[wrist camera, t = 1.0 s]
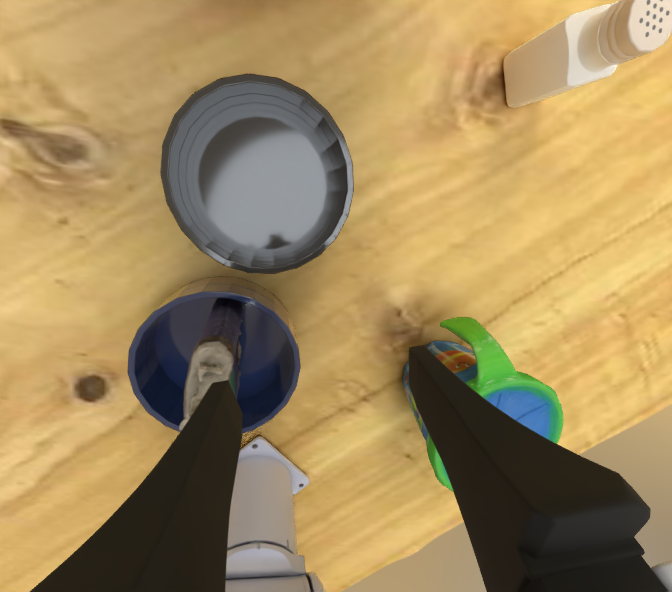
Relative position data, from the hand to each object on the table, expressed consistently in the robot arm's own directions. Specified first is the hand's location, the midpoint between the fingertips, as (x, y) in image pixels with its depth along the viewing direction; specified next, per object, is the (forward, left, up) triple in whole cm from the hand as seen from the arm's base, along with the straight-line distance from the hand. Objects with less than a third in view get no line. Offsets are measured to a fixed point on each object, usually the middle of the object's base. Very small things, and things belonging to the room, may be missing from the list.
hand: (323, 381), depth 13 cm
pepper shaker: (+25, +2, -16) cm, 30 cm away
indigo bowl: (-8, 0, -16) cm, 17 cm away
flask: (-8, 0, -15) cm, 17 cm away
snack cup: (+5, -16, -16) cm, 23 cm away
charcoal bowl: (+3, +8, -16) cm, 18 cm away
